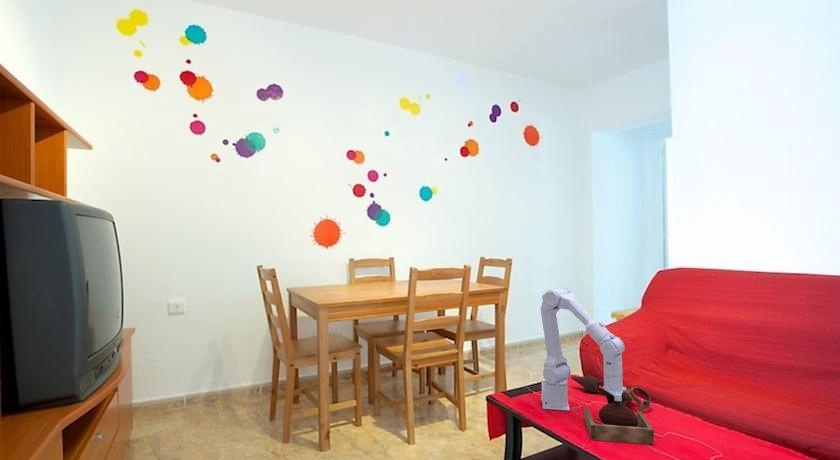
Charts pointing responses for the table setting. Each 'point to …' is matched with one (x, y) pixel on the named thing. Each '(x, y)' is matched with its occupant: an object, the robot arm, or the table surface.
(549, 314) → the robot arm
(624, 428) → the box
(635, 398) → the brown looped piece
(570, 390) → the table surface
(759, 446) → the table surface
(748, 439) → the table surface
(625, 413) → the potato
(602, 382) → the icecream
